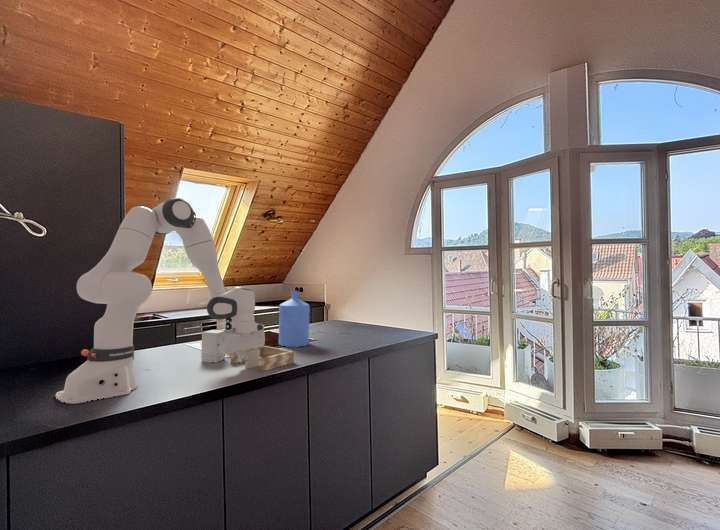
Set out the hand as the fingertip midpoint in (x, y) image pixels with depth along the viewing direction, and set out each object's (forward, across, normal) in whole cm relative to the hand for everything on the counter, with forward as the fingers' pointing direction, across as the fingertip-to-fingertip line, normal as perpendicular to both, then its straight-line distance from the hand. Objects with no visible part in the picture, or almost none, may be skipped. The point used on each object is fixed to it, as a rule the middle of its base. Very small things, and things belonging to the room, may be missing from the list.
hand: (242, 361), depth 169 cm
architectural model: (+3, +4, -1) cm, 6 cm away
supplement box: (+3, +1, +20) cm, 20 cm away
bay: (+3, +10, 0) cm, 11 cm away
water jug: (+3, +48, +18) cm, 51 cm away
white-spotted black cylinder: (+3, +19, +29) cm, 35 cm away
